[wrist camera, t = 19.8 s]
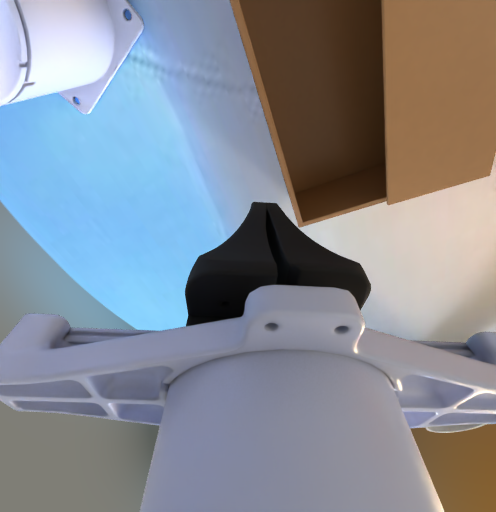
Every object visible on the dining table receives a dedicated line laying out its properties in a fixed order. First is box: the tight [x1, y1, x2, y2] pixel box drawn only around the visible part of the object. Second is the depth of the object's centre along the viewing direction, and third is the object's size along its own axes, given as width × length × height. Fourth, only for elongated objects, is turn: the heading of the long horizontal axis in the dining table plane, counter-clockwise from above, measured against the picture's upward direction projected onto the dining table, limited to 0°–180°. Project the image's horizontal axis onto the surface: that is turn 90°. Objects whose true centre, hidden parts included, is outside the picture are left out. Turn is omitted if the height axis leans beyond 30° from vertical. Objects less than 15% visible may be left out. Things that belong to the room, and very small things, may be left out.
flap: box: [381, 0, 496, 205], centre depth 12 cm, size 18×6×1 cm, turn 21°
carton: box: [230, 0, 387, 228], centre depth 15 cm, size 18×13×5 cm
